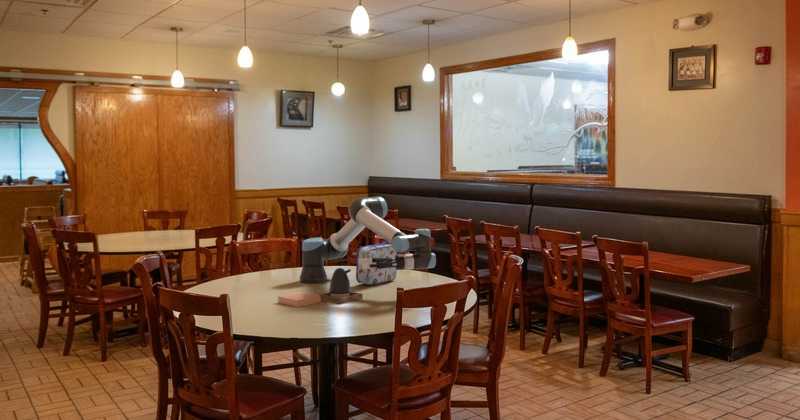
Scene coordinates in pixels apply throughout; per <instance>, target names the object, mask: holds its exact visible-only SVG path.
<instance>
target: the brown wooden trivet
mask: <svg viewBox="0 0 800 420" xmlns="http://www.w3.org/2000/svg"><path fill="white" fill-rule="evenodd" d="M317 295H320V299H321V302H322V301H323V302H329V303H333V304H338V305H341V304H345V303H351V302H355V301H358V300H363V298H364V297H363V295H364V294H363V293H360V292H356V291H351V292H350V295H349V296H347V297H342V298H337V297H331V294H330V292H329V291H328V292H324V293H320V294H317Z"/></svg>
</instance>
